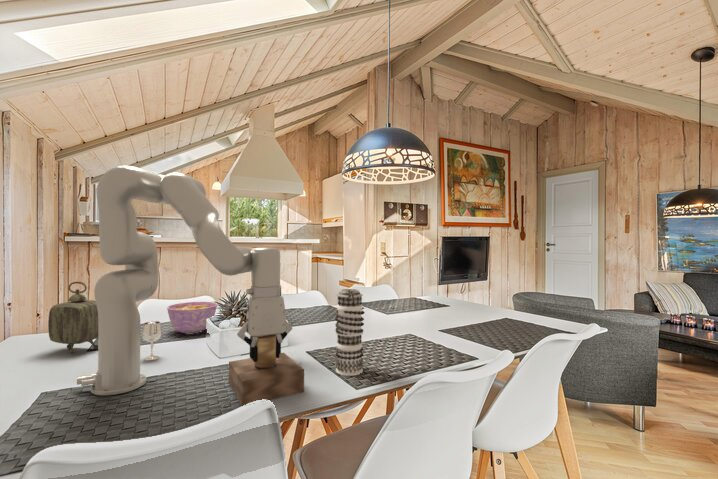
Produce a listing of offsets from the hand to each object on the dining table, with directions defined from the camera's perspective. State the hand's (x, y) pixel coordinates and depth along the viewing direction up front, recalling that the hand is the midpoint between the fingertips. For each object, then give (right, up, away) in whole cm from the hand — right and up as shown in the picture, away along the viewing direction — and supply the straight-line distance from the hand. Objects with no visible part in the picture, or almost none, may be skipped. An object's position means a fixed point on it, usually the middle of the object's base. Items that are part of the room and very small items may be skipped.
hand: (265, 357), depth 96 cm
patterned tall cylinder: (+23, -8, +13) cm, 27 cm away
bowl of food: (-47, -8, +57) cm, 75 cm away
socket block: (0, -8, 0) cm, 8 cm away
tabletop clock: (-76, -8, +30) cm, 82 cm away
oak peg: (0, -8, 0) cm, 8 cm away
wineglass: (-45, -8, +23) cm, 51 cm away
